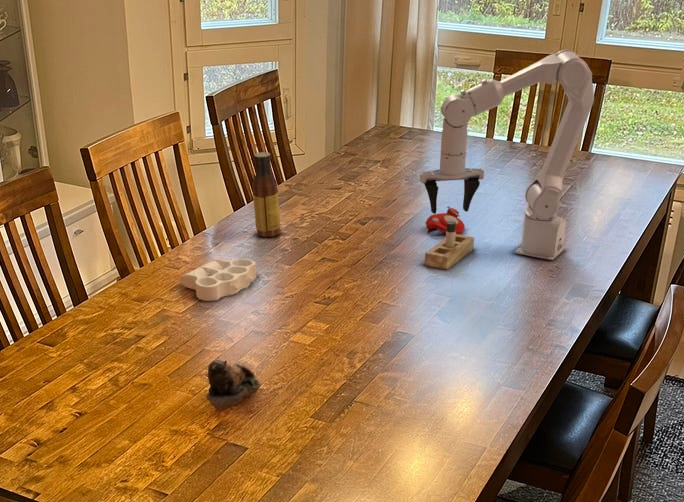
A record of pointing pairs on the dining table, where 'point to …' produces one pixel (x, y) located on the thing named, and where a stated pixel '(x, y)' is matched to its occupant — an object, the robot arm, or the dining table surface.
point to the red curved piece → (445, 221)
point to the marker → (450, 234)
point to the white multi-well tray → (220, 278)
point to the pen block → (449, 252)
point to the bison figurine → (229, 384)
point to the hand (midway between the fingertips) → (449, 211)
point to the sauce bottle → (265, 197)
